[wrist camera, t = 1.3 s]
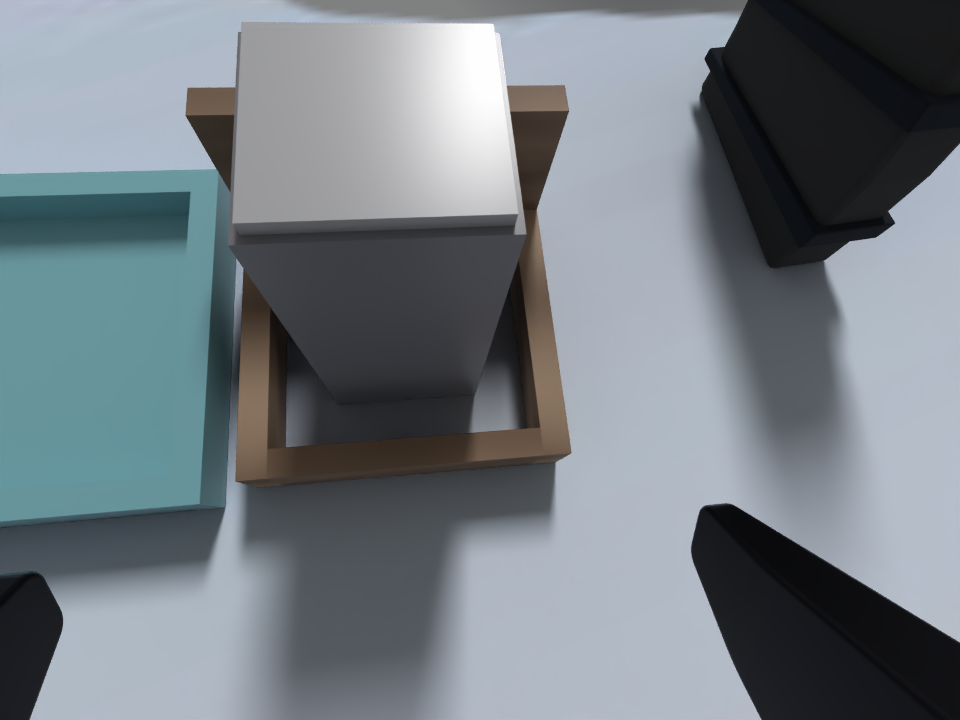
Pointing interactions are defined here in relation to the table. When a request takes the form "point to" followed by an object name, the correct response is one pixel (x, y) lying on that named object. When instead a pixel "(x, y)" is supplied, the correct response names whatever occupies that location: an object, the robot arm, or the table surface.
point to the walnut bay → (543, 441)
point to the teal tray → (114, 344)
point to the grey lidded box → (378, 198)
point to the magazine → (834, 114)
